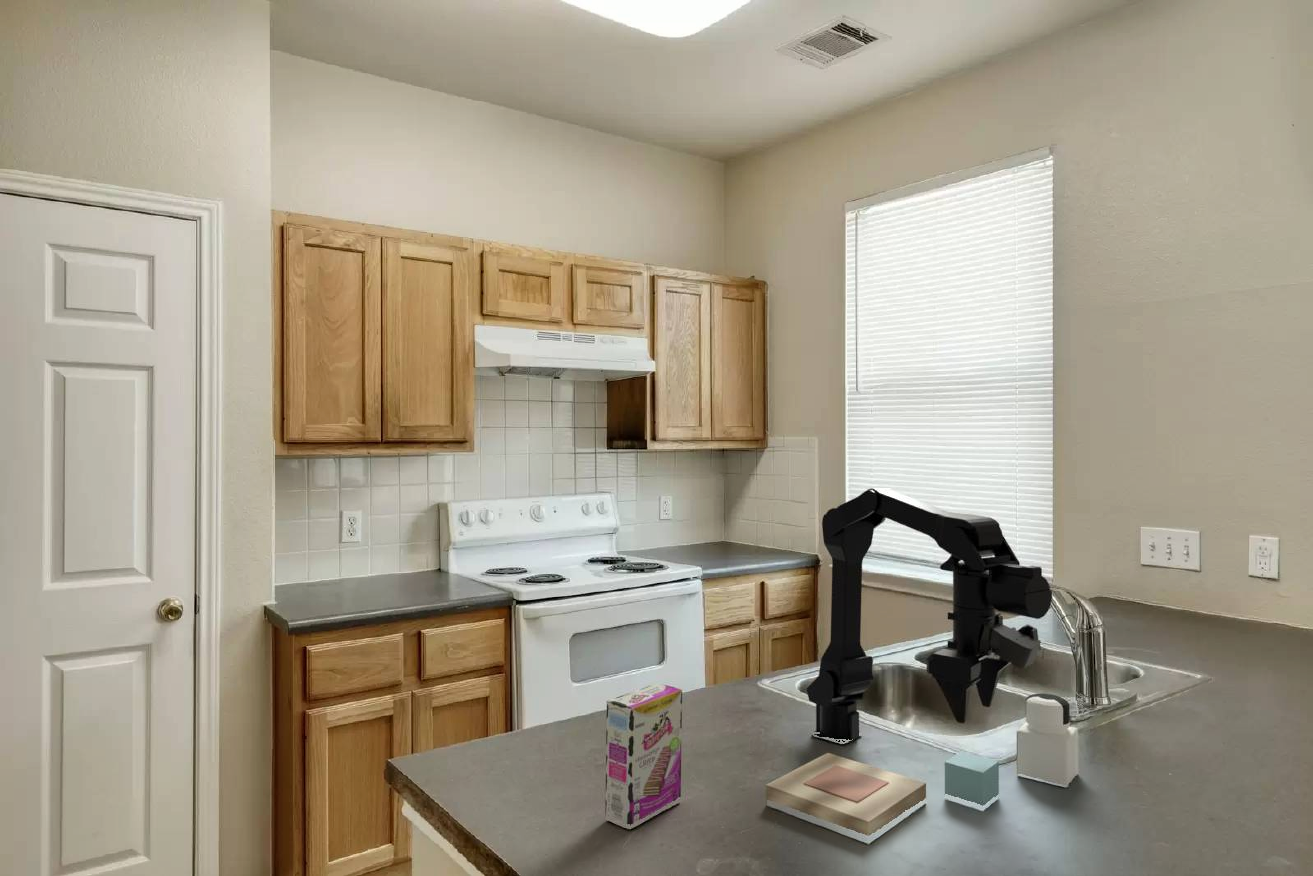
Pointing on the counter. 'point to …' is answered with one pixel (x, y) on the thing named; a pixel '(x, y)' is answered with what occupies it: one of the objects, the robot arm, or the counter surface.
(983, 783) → the teal block
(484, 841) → the counter surface
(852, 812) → the stack base
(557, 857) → the counter surface
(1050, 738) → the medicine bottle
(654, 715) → the candy bar box
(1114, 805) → the counter surface
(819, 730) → the robot arm
